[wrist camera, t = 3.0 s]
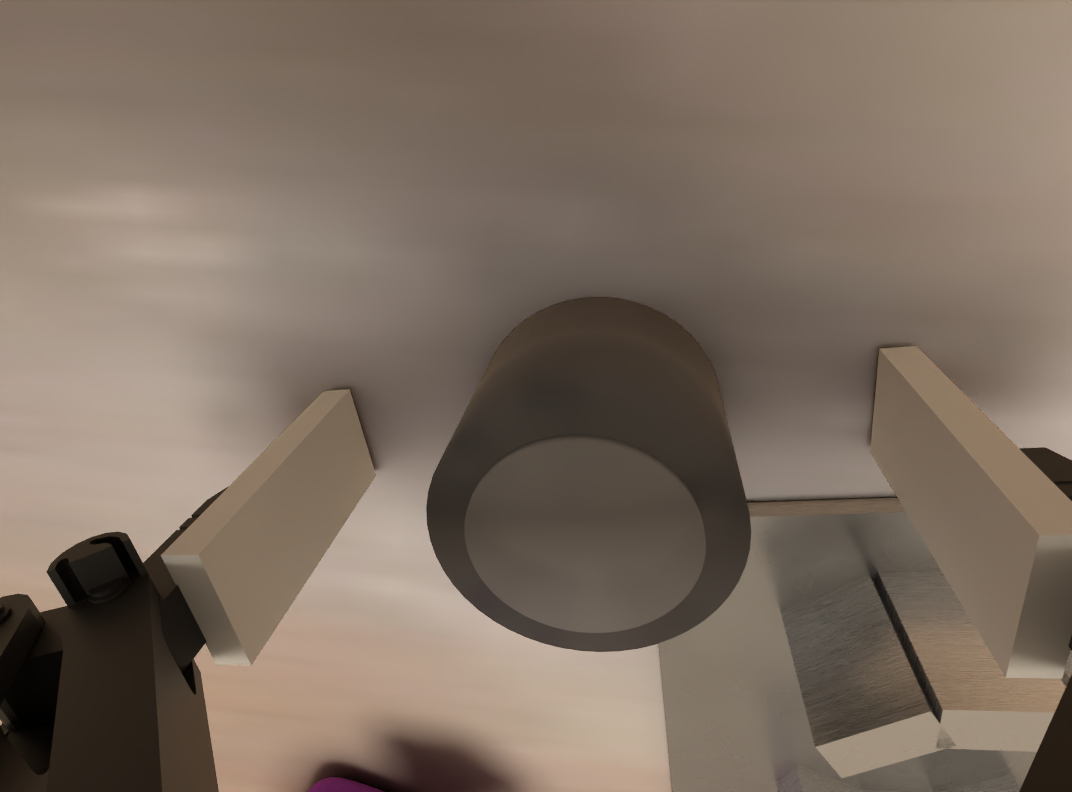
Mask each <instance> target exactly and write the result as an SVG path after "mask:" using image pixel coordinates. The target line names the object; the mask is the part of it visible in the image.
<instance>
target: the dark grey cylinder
mask: <svg viewBox="0 0 1072 792" xmlns="http://www.w3.org/2000/svg"><path fill="white" fill-rule="evenodd" d="M427 526H428V530H429V535H430V540H431V543H432V546H433V549H434V552H435V554H436V557H437V559H438V561H439V563H440V564H441V566H442V568H443V570H444V572H445V573H446V575H447V576H448V578H449V579H450V580H451V582H452V583H453V585H454V586H455V587H456V588H457V589H458V590H459V591H460V593H461V594H462V595H463V596H464V597H465V598H466V599H467V600H468V601H469V602H470V603H472V604H473V605H474V606H475V607H476V608H477V609H478V610H480V611H481V612H482V613H484V614H485V615H486V616H488V617H489V618H491V619H492V620H493V621H495V622H497V623H499V624H500V625H502V626H504V627H506V628H507V629H509V630H511V631H513V632H516V633H518V634H520V635H522V636H524V637H527V638H530V639H533V640H536V641H538V642H541V643H544V644H548V645H552V646H557V647H561V648H566V649H573V650H580V651H595V652H608V651H623V650H631V649H638V648H642V647H646V646H651V645H655V644H658V643H661V642H664V641H666V640H669V639H672V638H674V637H676V636H678V635H681V634H683V633H685V632H687V631H689V630H690V629H692V628H694V627H695V626H697V625H698V624H700V623H701V622H703V621H704V620H706V619H707V618H708V617H709V616H710V615H711V614H713V613H714V612H715V611H716V610H717V609H718V608H719V607H720V606H721V605H722V604H723V603H724V602H725V601H726V599H727V598H728V597H729V596H730V594H731V593H732V591H733V590H734V588H735V587H736V585H737V584H738V582H739V580H740V578H741V576H742V573H743V571H744V569H745V567H746V563H747V559H748V555H749V551H750V543H751V523H750V513H749V509H748V505H747V501H746V497H745V493H744V489H743V484H742V480H741V476H740V472H739V468H738V464H737V460H736V456H735V452H734V447H733V443H732V439H731V435H730V431H729V427H728V423H727V419H726V414H725V410H724V406H723V402H722V398H721V394H720V390H719V386H718V382H717V378H716V374H715V372H714V370H713V367H712V365H711V363H710V360H709V359H708V357H707V356H706V354H705V352H704V351H703V349H702V347H701V346H700V345H699V344H698V343H697V341H696V340H695V339H694V338H693V337H692V335H690V334H689V333H688V332H687V331H686V330H685V329H684V328H683V327H682V326H680V325H679V324H678V323H676V322H675V321H673V320H672V319H671V318H669V317H668V316H666V315H664V314H662V313H660V312H658V311H656V310H654V309H652V308H650V307H647V306H645V305H642V304H639V303H636V302H632V301H628V300H623V299H618V298H607V297H589V298H580V299H574V300H568V301H565V302H561V303H558V304H555V305H552V306H550V307H547V308H545V309H543V310H541V311H538V312H537V313H535V314H534V315H532V316H530V317H529V318H527V319H525V320H524V321H523V322H522V323H521V324H519V325H518V326H517V327H516V328H515V329H513V330H512V332H511V333H510V334H509V335H508V336H507V337H506V338H505V339H504V340H503V342H502V343H501V345H500V346H499V348H498V349H497V351H496V352H495V354H494V356H493V358H492V360H491V362H490V364H489V366H488V368H487V370H486V372H485V374H484V376H483V378H482V380H481V382H480V384H479V386H478V387H477V389H476V391H475V393H474V395H473V397H472V399H471V401H470V403H469V405H468V407H467V409H466V411H465V413H464V415H463V417H462V419H461V421H460V423H459V425H458V427H457V429H456V431H455V433H454V434H453V436H452V438H451V440H450V442H449V444H448V446H447V448H446V450H445V452H444V454H443V456H442V458H441V460H440V462H439V464H438V466H437V468H436V470H435V472H434V475H433V478H432V481H431V484H430V488H429V491H428V500H427Z"/></svg>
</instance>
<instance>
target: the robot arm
mask: <svg viewBox="0 0 1072 792" xmlns="http://www.w3.org/2000/svg"><path fill="white" fill-rule="evenodd" d="M870 452H871V454H872V456H873V457H874V459H875V461H876V462H877V464H878V466H879V467H880V469H881V471H882V472H883V474H884V476H885V477H886V479H887V481H888V482H889V484H890V486H891V487H892V489H893V491H894V492H895V494H896V496H897V497H898V499H899V501H900V502H901V504H902V506H903V507H904V509H905V511H906V512H907V514H908V516H909V517H910V519H911V521H912V522H913V524H914V526H915V527H916V529H917V531H918V532H919V534H920V536H921V537H922V539H923V541H924V542H925V544H926V546H927V547H928V549H929V551H930V552H931V554H932V556H933V557H934V559H935V561H936V562H937V564H938V566H939V567H940V569H941V571H942V572H943V574H944V576H945V577H946V579H947V581H948V582H949V584H950V586H951V587H952V589H953V591H954V592H955V594H956V596H957V597H958V599H959V601H960V602H961V604H962V606H963V607H964V609H965V611H966V612H967V614H968V616H969V617H970V619H971V621H972V622H973V624H974V626H975V627H976V629H977V631H978V632H979V634H980V636H981V637H982V639H983V641H984V642H985V644H986V646H987V647H988V649H989V651H990V652H991V654H992V656H993V657H994V659H995V661H996V662H997V664H998V666H999V667H1000V669H1001V671H1002V672H1003V674H1004V676H1005V677H1006V678H1054V679H1062V678H1063V674H1064V671H1065V667H1066V664H1067V660H1068V657H1069V654H1070V650H1072V460H1070V459H1067V458H1065V457H1063V456H1061V455H1059V454H1057V453H1055V452H1053V451H1051V450H1049V449H1047V448H1045V447H1044V448H1022V449H1019V448H1018V447H1017V446H1016V445H1015V444H1014V443H1013V442H1012V441H1011V440H1010V439H1009V438H1008V437H1007V436H1006V435H1005V434H1004V433H1003V432H1002V431H1001V430H1000V429H999V428H998V427H997V426H996V425H995V424H994V423H993V422H992V421H991V420H990V419H989V418H988V417H987V416H986V415H985V414H984V413H983V412H982V411H981V410H980V409H979V408H978V407H977V406H976V405H975V404H974V403H973V402H972V401H971V400H970V399H969V398H968V397H967V396H966V395H965V394H964V393H963V392H962V391H961V390H960V389H959V388H958V387H957V386H956V385H955V384H954V383H953V382H952V381H951V380H950V379H949V378H948V377H947V376H946V375H945V374H944V373H943V372H942V371H941V370H940V369H939V368H938V367H937V366H936V365H935V364H934V363H933V362H932V361H931V360H930V359H929V358H928V357H927V356H926V355H925V354H924V353H923V352H922V351H921V350H920V349H919V348H918V347H917V346H908V347H895V348H881V349H879V359H878V370H877V381H876V392H875V404H874V415H873V426H872V437H871V448H870ZM375 476H376V474H375V471H374V467H373V464H372V461H371V458H370V454H369V451H368V448H367V444H366V441H365V438H364V435H363V431H362V428H361V425H360V422H359V418H358V415H357V412H356V408H355V405H354V402H353V399H352V395H351V392H350V389H346V390H333V391H323V392H322V393H321V394H320V395H319V396H318V397H317V398H316V399H315V400H314V401H313V402H312V403H311V404H310V405H309V406H308V407H307V408H306V409H305V410H304V411H303V412H302V413H301V414H300V415H299V416H298V417H297V418H296V419H295V420H294V421H293V422H292V423H291V424H290V426H289V427H288V428H287V429H286V430H285V431H284V432H283V433H282V434H281V435H280V436H279V437H278V438H277V439H276V440H275V441H274V442H273V443H272V444H271V445H270V446H269V447H268V448H267V449H266V450H265V451H264V452H263V453H262V454H261V455H260V456H259V457H258V458H257V459H256V460H255V461H254V462H253V463H252V464H251V465H250V466H249V467H248V468H247V469H246V470H245V471H244V472H243V473H242V474H241V475H240V476H239V477H238V478H237V479H236V480H235V481H234V482H233V483H232V484H231V485H230V486H229V487H227V488H225V489H224V490H222V491H221V492H219V493H217V494H216V495H214V496H213V497H211V498H210V499H208V500H207V501H206V502H205V503H204V504H203V505H202V506H201V507H200V508H198V509H197V510H196V511H195V512H194V513H193V514H192V518H188V519H187V520H186V521H185V522H184V523H183V524H182V525H181V526H180V530H176V531H175V532H174V533H173V534H172V535H171V536H170V537H169V538H168V539H167V540H166V541H165V542H164V543H163V544H162V545H161V546H160V547H159V548H158V549H157V550H156V551H155V552H154V553H153V554H152V555H151V556H150V557H149V558H148V559H147V560H146V561H145V562H144V563H142V561H141V559H140V557H139V555H138V553H137V551H136V550H135V548H134V546H133V544H132V542H131V540H130V538H129V537H128V535H127V534H126V533H121V532H111V533H104V534H101V535H98V536H94V537H91V538H89V539H87V540H84V541H82V542H80V543H78V544H76V545H74V546H73V547H71V548H69V549H68V550H66V551H65V552H63V553H62V554H61V555H59V556H58V557H57V558H56V559H55V560H54V561H53V562H52V563H51V565H50V566H49V568H48V570H47V573H48V575H49V577H50V578H51V580H52V582H53V583H54V585H55V586H56V588H57V590H58V591H59V593H60V594H61V596H62V598H63V599H64V601H65V603H66V604H67V606H65V607H61V608H57V609H53V610H48V611H44V612H39V611H38V609H37V608H36V606H35V605H34V603H33V602H32V600H31V599H30V598H29V596H28V595H23V594H14V595H9V596H4V597H1V598H0V720H1V721H2V725H1V726H0V792H219V791H218V784H217V778H216V771H215V764H214V758H213V751H212V745H211V738H210V732H209V725H208V719H207V712H206V706H205V699H204V693H203V686H202V679H201V673H200V670H199V668H198V667H197V665H196V663H195V661H194V659H193V658H194V657H195V656H196V655H197V653H198V652H199V651H200V649H201V648H202V647H203V645H204V644H205V643H206V645H207V647H208V649H209V651H210V653H211V655H212V657H213V659H214V661H215V663H216V665H249V666H251V665H252V664H253V662H254V661H255V659H256V658H257V656H258V655H259V653H260V651H261V650H262V648H263V647H264V645H265V644H266V642H267V641H268V639H269V638H270V636H271V635H272V633H273V632H274V630H275V629H276V627H277V626H278V624H279V622H280V621H281V619H282V618H283V616H284V615H285V613H286V612H287V610H288V609H289V607H290V606H291V604H292V603H293V601H294V600H295V598H296V597H297V595H298V594H299V592H300V590H301V589H302V587H303V586H304V584H305V583H306V581H307V580H308V578H309V577H310V575H311V574H312V572H313V571H314V569H315V568H316V566H317V565H318V563H319V561H320V560H321V558H322V557H323V555H324V554H325V552H326V551H327V549H328V548H329V546H330V545H331V543H332V542H333V540H334V539H335V537H336V536H337V534H338V532H339V531H340V529H341V528H342V526H343V525H344V523H345V522H346V520H347V519H348V517H349V516H350V514H351V513H352V511H353V510H354V508H355V507H356V505H357V503H358V502H359V500H360V499H361V497H362V496H363V494H364V493H365V491H366V490H367V488H368V487H369V485H370V484H371V482H372V481H373V479H374V478H375ZM1019 792H1072V675H1071V677H1070V679H1069V682H1068V684H1067V686H1066V688H1065V691H1064V693H1063V695H1062V697H1061V699H1060V702H1059V704H1058V706H1057V708H1056V711H1055V713H1054V715H1053V717H1052V720H1051V722H1050V724H1049V726H1048V728H1047V731H1046V733H1045V735H1044V737H1043V740H1042V742H1041V744H1040V746H1039V749H1038V751H1037V753H1036V755H1035V757H1034V760H1033V762H1032V764H1031V766H1030V769H1029V771H1028V773H1027V775H1026V777H1025V780H1024V782H1023V784H1022V786H1021V789H1020V791H1019Z"/></svg>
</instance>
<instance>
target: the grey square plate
mask: <svg viewBox="0 0 1072 792" xmlns="http://www.w3.org/2000/svg"><path fill="white" fill-rule="evenodd" d="M747 505H748V509H749V513H750V523H751V543H750V551H749V555H748V559H747V563H746V567H745V569H744V571H743V573H742V576H741V578H740V580H739V582H738V584H737V585H736V587H735V588H734V590H733V591H732V593H731V594H730V596H729V597H728V598H727V599H726V601H725V602H724V603H723V604H722V605H721V606H720V607H719V608H718V609H717V610H716V611H715V612H714V613H713V614H711V615H710V616H709V617H708V618H707V619H706V620H704V621H703V622H701V623H700V624H698V625H697V626H695V627H694V628H692V629H690V630H689V631H687V632H685V633H683V634H681V635H678V636H676V637H674V638H672V639H669V640H666V641H664V642H661V643H659V654H660V665H661V676H662V687H663V698H664V709H665V720H666V731H667V742H668V753H669V764H670V775H671V786H672V792H1019V791H1020V789H1021V786H1022V784H1023V782H1024V780H1025V777H1026V775H1027V773H1028V771H1029V769H1030V766H1031V764H1032V762H1033V760H1034V757H1035V755H1036V753H1037V751H1038V749H1039V746H1040V744H1041V742H1042V740H1043V737H1044V735H1045V733H1046V731H1047V728H1048V726H1049V724H1050V722H1051V720H1052V717H1053V715H1054V713H1055V711H1056V708H1057V706H1058V704H1059V702H1060V699H1061V697H1062V695H1063V693H1064V691H1065V688H1066V686H1067V684H1068V682H1069V679H1070V677H1071V675H1072V650H1070V654H1069V657H1068V660H1067V664H1066V667H1065V671H1064V674H1063V678H1062V679H1054V678H1006V677H1005V676H1004V674H1003V672H1002V671H1001V669H1000V667H999V666H998V664H997V662H996V661H995V659H994V657H993V656H992V654H991V652H990V651H989V649H988V647H987V646H986V644H985V642H984V641H983V639H982V637H981V636H980V634H979V632H978V631H977V629H976V627H975V626H974V624H973V622H972V621H971V619H970V617H969V616H968V614H967V612H966V611H965V609H964V607H963V606H962V604H961V602H960V601H959V599H958V597H957V596H956V594H955V592H954V591H953V589H952V587H951V586H950V584H949V582H948V581H947V579H946V577H945V576H944V574H943V572H942V571H941V569H940V567H939V566H938V564H937V562H936V561H935V559H934V557H933V556H932V554H931V552H930V551H929V549H928V547H927V546H926V544H925V542H924V541H923V539H922V537H921V536H920V534H919V532H918V531H917V529H916V527H915V526H914V524H913V522H912V521H911V519H910V517H909V516H908V514H907V512H906V511H905V509H904V507H903V506H902V504H901V502H900V501H899V499H898V498H872V499H842V500H813V501H784V502H754V503H747Z"/></svg>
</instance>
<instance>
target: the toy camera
mask: <svg viewBox="0 0 1072 792" xmlns="http://www.w3.org/2000/svg"><path fill="white" fill-rule="evenodd" d="M307 792H384V791H382V790H379V789H376V788H374V787H371V786H368V785H365V784H362V783H359V782H356V781H353V780H349V779H345V778H338V777H329V778H325V779H322V780H320V781H318V782H317V783H315V784H314V785H313V786H312V787H311V788H310V789H309V790H308V791H307Z"/></svg>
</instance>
